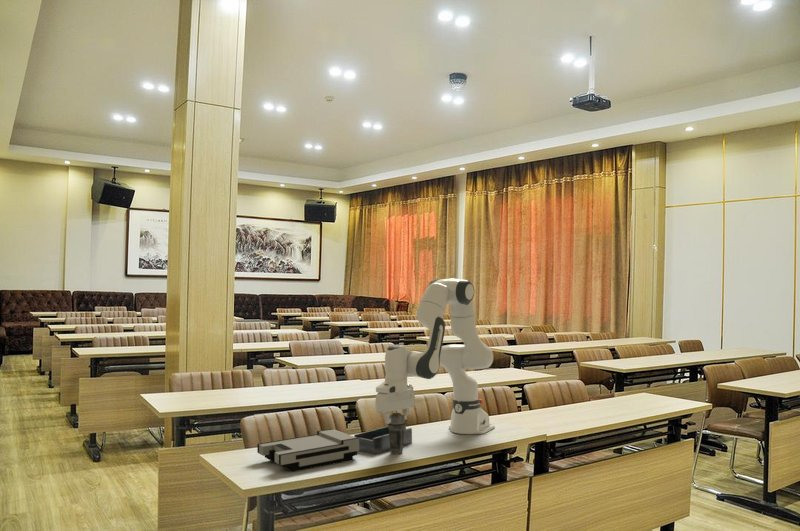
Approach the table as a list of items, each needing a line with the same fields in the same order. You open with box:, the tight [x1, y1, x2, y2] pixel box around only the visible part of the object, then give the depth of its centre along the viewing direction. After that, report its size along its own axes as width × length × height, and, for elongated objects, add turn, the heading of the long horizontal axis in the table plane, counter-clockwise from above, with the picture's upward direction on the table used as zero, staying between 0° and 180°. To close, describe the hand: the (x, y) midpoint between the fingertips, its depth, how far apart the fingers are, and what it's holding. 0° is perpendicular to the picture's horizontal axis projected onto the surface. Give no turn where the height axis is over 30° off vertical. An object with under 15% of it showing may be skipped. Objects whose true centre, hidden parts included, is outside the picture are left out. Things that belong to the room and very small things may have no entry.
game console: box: [257, 428, 360, 473], centre depth 226 cm, size 21×32×8 cm, turn 126°
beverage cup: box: [387, 410, 407, 455], centre depth 236 cm, size 7×7×20 cm
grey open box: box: [353, 425, 413, 455], centre depth 246 cm, size 23×11×6 cm, turn 139°
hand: (396, 421), depth 236 cm, fingers open, 8 cm apart
